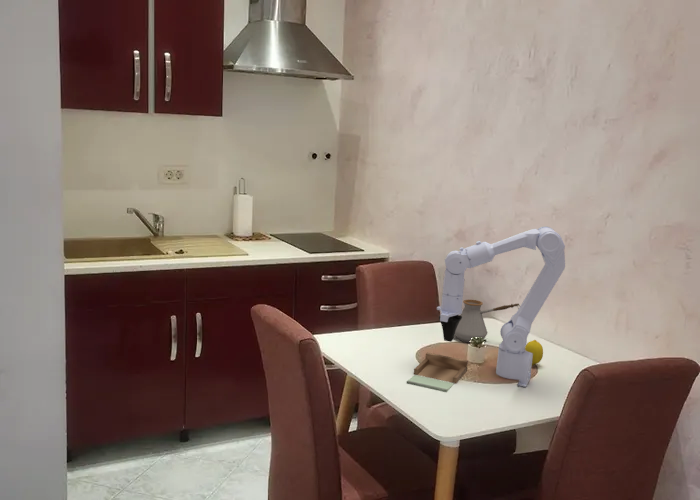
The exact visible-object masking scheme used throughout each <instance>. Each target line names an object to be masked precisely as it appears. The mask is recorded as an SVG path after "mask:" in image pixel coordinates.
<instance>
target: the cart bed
mask: <svg viewBox="0 0 700 500" xmlns="http://www.w3.org/2000/svg"><path fill="white" fill-rule="evenodd" d="M468 362H469V360H467V359H462V358H456V357H451V356H447V355H441V354H436V353H432V352H425V358H424V359H423V360H422V361H421V362H420V363H419V364H418V365H417V366H416V367H414V369H413V375H417V376H422V377H427V378H431V379H436V380H440V381H445V382H450V383H454V384H457V383H458V382H459V381H460V380H461V379H462V377H463V376H465V374H466V373H467V372H468V365H469V364H468Z"/></svg>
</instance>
